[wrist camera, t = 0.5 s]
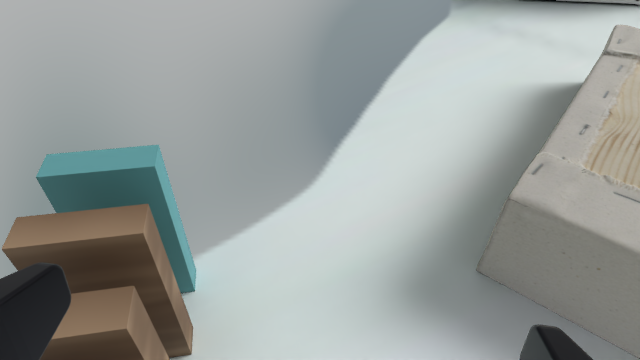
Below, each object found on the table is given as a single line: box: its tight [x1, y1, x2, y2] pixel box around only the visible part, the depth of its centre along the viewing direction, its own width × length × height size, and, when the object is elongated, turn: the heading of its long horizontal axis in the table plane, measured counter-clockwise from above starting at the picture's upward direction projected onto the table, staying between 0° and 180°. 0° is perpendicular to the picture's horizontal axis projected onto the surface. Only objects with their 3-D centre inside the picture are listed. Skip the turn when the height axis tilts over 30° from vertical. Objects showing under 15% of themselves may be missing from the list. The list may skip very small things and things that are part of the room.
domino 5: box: [36, 145, 196, 293], centre depth 23 cm, size 2×5×10 cm, turn 100°
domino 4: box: [2, 204, 193, 358], centre depth 20 cm, size 2×5×10 cm, turn 99°
